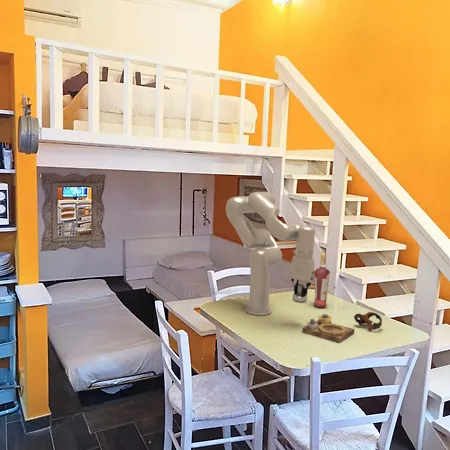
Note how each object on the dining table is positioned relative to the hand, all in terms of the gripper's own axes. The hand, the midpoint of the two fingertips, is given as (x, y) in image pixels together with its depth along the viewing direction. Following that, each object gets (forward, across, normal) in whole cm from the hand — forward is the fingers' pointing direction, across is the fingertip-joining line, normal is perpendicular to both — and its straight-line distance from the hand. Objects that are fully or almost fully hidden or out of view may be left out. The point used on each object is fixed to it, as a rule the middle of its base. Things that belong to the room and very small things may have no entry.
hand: (300, 294), depth 194 cm
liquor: (+15, -6, +34) cm, 37 cm away
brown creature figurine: (+14, +24, +20) cm, 35 cm away
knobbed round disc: (+3, 0, 0) cm, 3 cm away
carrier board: (+14, +14, +1) cm, 20 cm away
